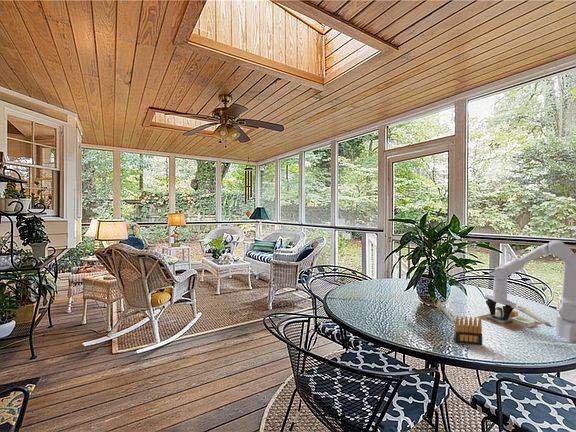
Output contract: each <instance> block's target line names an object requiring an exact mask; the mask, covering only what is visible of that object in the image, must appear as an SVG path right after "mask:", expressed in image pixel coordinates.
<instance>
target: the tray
mask: <svg viewBox="0 0 576 432" xmlns="http://www.w3.org/2000/svg"><path fill="white" fill-rule="evenodd" d="M511 319H512V320H513V323H515V324H518V325H521V326H524V327H530V326H533V327H535V326H534V325H535V321H536V320H533V319H530V318H527V317H524V316H521V315H518V316H517V317H513V318H511ZM530 328H531V327H530Z"/></svg>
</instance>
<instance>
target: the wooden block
mask: <svg viewBox="0 0 576 432" xmlns="http://www.w3.org/2000/svg"><path fill="white" fill-rule="evenodd" d="M513 316H515V317H517V316H519V312H518V310H514V309H513V310H512V312H511V313H510V315H509V317H513Z"/></svg>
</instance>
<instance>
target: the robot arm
mask: <svg viewBox="0 0 576 432" xmlns="http://www.w3.org/2000/svg"><path fill="white" fill-rule="evenodd" d="M550 254H551V255H553V256H554V257H556V258H559V259H560V261H562V262H563V263H564V269H563V277H562V278H563V279H562V280H563V281H562V289H561V297H560V302H559V303H558V304H557V310H558V313H557V314H556V317H555V318H556V321H555V335H557V336H559V337H560V338H563V339H565V340H567V341H566V343H568V344H570V343H571V344H576V254H575V253H574V251H573V250H572V249H571V248H570V246H568V244H566V243H565V242H563V241H562V240H558V239H554V240H550V241H549V242H548V243H547V242H546V243H544V244H541V245H540V246H538V247H536V248H534V249H532V250H531V251H529V252H528V253H526V254H524V255H523V256H521V257H519V258H517V257H515V258H509V259H508V261H507V262H505V263H503V264H500V265H499V266H498V267H495V269H494V270H493V272H492V273H493V287H492V289H493V290H492V295H489V294H484V300H485V303H486V305H487V307H488V310H489V314H491V315H495V308H497V307H496V306H497V303H498V304H502V307H501V308H502V309H503V311H504V320H508V318H509V315H510V313H511V312H512V310H514V308H516V307H517V303H514V302H512V301H510V300H509V299H508V276H511V275H513V274H515V273H517V272H519V271H521V270H522V269H523V270H524V267H525V265H526V264H527V263H529V262H531V261H533V260H536V259H537V258H539V257H541V256H550Z"/></svg>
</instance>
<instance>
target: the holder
mask: <svg viewBox="0 0 576 432" xmlns="http://www.w3.org/2000/svg"><path fill="white" fill-rule="evenodd" d="M479 317H480V318H481V321H485V322H488V323H490V324H492V325H496V326H498V327H502V328H503V329H507V330H509V331H512V332H514V333H515V332H518V331H522V330H526V329H530V328H532V327H537V326H540V325H544V324H543V323H541V322H539V321H537V320H534V321H535V325H534V326H530V327H524V326H521V325H518V324H515V323H513V320H512V319H511V318H513V317H515V316H513V317H509V318H508V320H498V319H496V318H495V315H491V314H490V313H488V314H483V315H478V316H476V319H479Z"/></svg>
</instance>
